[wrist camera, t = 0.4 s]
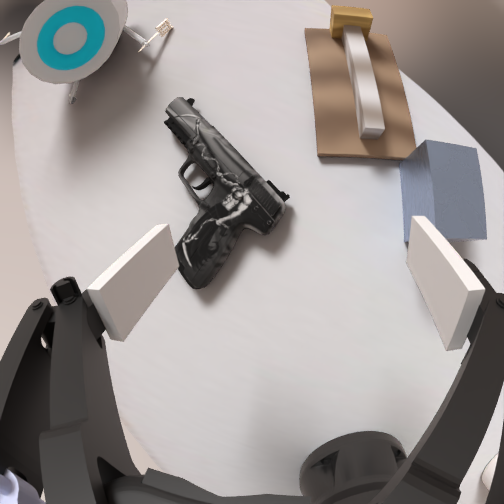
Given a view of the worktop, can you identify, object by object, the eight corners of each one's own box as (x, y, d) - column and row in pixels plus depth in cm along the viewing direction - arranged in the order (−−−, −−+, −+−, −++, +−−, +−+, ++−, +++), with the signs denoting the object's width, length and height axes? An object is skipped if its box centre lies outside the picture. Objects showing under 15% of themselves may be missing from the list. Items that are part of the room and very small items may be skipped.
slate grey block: (449, 242, 28) (486, 239, 20) (404, 241, 28) (435, 237, 21) (443, 168, 28) (476, 148, 20) (398, 164, 29) (425, 139, 21)
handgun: (104, 165, 31) (184, 87, 29) (119, 172, 35) (193, 99, 33) (194, 294, 29) (298, 203, 27) (205, 289, 32) (299, 209, 31)
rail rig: (414, 161, 28) (435, 144, 22) (317, 156, 30) (321, 135, 24) (385, 39, 28) (394, 13, 22) (304, 32, 30) (304, 4, 24)
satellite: (113, -59, 18) (13, 27, 23) (91, -67, 9) (-36, 67, 15) (171, 15, 38) (74, 85, 43) (177, 41, 29) (52, 138, 34)
